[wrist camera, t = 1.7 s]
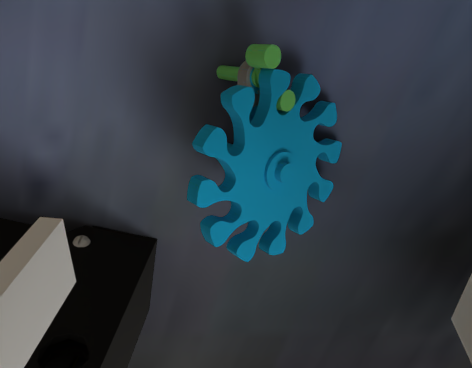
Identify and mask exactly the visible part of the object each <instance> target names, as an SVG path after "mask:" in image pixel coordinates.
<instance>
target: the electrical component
mask: <svg viewBox="0 0 472 368" xmlns="http://www.w3.org/2000/svg"><path fill="white" fill-rule="evenodd" d="M31 226H32V225H29V224H25V223H20V222H16V221H11V220H7V219H2V218H0V261H1V260H2V259H3V258H4V257H5V256H6V255H7V253H8V252H9V251H10V250H11V249H12V248H13V247H14V246H15V244H16V243H17V242H18V241H19V240H20V239H21V238H22V237H23V235H24V234H25V233H26V232H27V231H28V230H29V229H30V228H31ZM66 236H67V241H68V246H69V250H70V255H71V259H72V264H73V269H74V273H75V278H76V283H75V284H74V286H73V288H72V289H71V291H70V293H69V294H68V296H67V298H66V299H65V301H64V303H63V304H62V306H61V308H60V309H59V311H58V312H57V314H56V316H55V317H54V319H53V321H52V322H51V324H50V326H49V327H48V329H47V331H46V332H45V334H44V335H43V337H42V339H41V340H40V342H39V344H38V345H37V347H36V349H35V350H34V352H33V354H32V355H31V357H30V359H29V360H28V362H27V363H26V365H25V367H24V368H127V367H128V364H129V361H130V359H131V356H132V353H133V351H134V348H135V345H136V343H137V340H138V337H139V335H140V332H141V329H142V327H143V324H144V321H145V319H146V316H147V314H148V311H149V306H150V297H151V288H152V280H153V271H154V262H155V254H156V245H157V239H155V238H150V237H145V236H140V235H135V234H130V233H125V232H120V231H115V230H110V229H105V228H100V227H95V226H93V227H89V226H83V227H80V228H78V229H75V230H73V231H70V232H67V233H66Z"/></svg>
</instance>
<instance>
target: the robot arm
mask: <svg viewBox="0 0 472 368" xmlns="http://www.w3.org/2000/svg"><path fill="white" fill-rule="evenodd" d="M75 283H76V278H75V273H74V269H73V264H72V259H71V255H70V250H69V246H68V241H67V236H66V232H65V227H64V222H63V219H58V218H47V217H39V219H38V220H37V221H36V222H35V223H34V224H33V225H32V226H31V228H30V229H29V230H28V231H27V232H26V233H25V234H24V235H23V237H22V238H21V239H20V240H19V241H18V242H17V243H16V244H15V246H14V247H13V248H12V249H11V250H10V251H9V252H8V253H7V255H6V256H5V257H4V258H3V259H2V260H1V261H0V368H24V367H25V365H26V363H27V362H28V360H29V359H30V357H31V355H32V354H33V352H34V350H35V349H36V347H37V345H38V344H39V342H40V340H41V339H42V337H43V335H44V334H45V332H46V331H47V329H48V327H49V326H50V324H51V322H52V321H53V319H54V317H55V316H56V314H57V312H58V311H59V309H60V308H61V306H62V304H63V303H64V301H65V299H66V298H67V296H68V294H69V293H70V291H71V289H72V288H73V286H74V284H75ZM451 320H452V322H453V325H454V327H455V329H456V331H457V333H458V335H459V338H460V340H461V342H462V344H463V346H464V348H465V350H466V353H467V355H468V357H469V359H470V361H471V363H472V274H471V276H470V278H469V280H468V283H467V285H466V287H465V289H464V291H463V294H462V296H461V298H460V300H459V302H458V305H457V307H456V309H455V311H454V313H453V316H452V318H451Z"/></svg>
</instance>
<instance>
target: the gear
mask: <svg viewBox="0 0 472 368" xmlns="http://www.w3.org/2000/svg"><path fill="white" fill-rule="evenodd" d="M245 58H246V61H244V62H243V63H242V64H241V66H240V67H234V66H224V65H221V66H219V67H218V69H217V76H218V78H220V79H224V80H231V81H237V82H238V85H236V86H232V87H230V88H228V89H227V90H225V91H224V92H222V93H221V103H222V106H223V107H224V108H225V110H226V111H227V112H228V114H229V115H230V118H231V120H232V124H233V130H234V143H233V144H230V143H227V137H226V134H225V132H224V131H223V130H222V129H221V128H218V127H215V126H212V125H208V124H206V125H205V126H203V127H202V128H201V130H200V131H199V132H198V134H197V135H196V137H195V139H194V141H193V143H192V145H193V147H194V149H195V150H196V151H197V152H200V153H202V154H205V155H207V156H210V157H215V158H216V159H217V160H218V161H219V163H220V164H221V166H222V167H223V169H224V171H225V179H224V181H223V183H222V184H221V185H220V186H217V185H216V183H215V182H214V181H212V180H210V179H208V178H206V177H204V176H201V175H194V176H192V177H191V179H190V182H189V185H188V191H187V200H188V201H190V202H191V203H193V204H195V205H197V206H198V207H201V208H206V207H208V206H210V205H212V204H213V203H216V202H218V201H223V200H228V201H231V209H230V211H229V213H228V214H227V215H226V216H224V217H217V216H213V215H210V216H207V217H205V218H204V219H203V220H202V221H201V222H200V227H201V232H202V234H203V237H204V239H205V240H206V241H207V242H208V243H210V244H211V245H213V246H214V247H218V246H221V245H222V244H224V243H225V241H226V240H227V239H228V237H229V236H230V235H231V233H232V232H233V231H234V230H235V229H236V228H238V227H239V226H241V225H242V224H244V223H247V222H249V223H248V226H247V228H246V229H245V231H243V232H242V233H240V234H237V235H235V236H233V237H232V238H231V239H230V240H229V242H228V244H227V247H226V248H227V249H228V251H230V252H231V253H232V254H234V255H235V256H237V257H238V258H240V259H241V260H243V261H246V262H249V261H250V260H251V259H252V257H253V256H254V254H255V250H256V246H257V244H258V241H259V239H260V237H261V236H262V234H263V233H264V231H265V230H266V229H267V228H268V227H269V225H270V227H269V229H268V230H267V231H266V232H265V233H264V234H263V236H262V237H261V239H260V241H259V249H261V250H263V251H264V252H266V253H268V254H270V255H278V254H281V253H283V252H284V250H285V247H286V239H285V231H286V226H287V223H288V228H289V229H290V230H291V231H293V232H295V233H297V234H299V235H301V234H303V233H305V232H306V231H308V230H309V229H310V228H311V227H312V226H313V223H314V219H313V216H312V215H311V214H310V213H309V211H308V208H307V191H308V193H309V196H310V197H312V198H314V199H317V200H319V201H322V202H325V200H326V199H327V198H328V197H329V195H330V193H331V191H332V189H333V187H334V186H333V183H332V182H331V181H329V180H326V179H323V178H322V177H321V176H320V175H319V173H318V171H317V169H316V164H315V163H316V159H317V157H318V158H319V159H320V160H323V161H326V162H329V163H336V162H337V161H338V159H339V156H340V152H341V146H342V143H341V142H340V141H336V140H332V139H328V138H325V139H323V140H322V141H319V142H316V141H315V140H314V138H313V132H314V129H315V127H316V126H317V125H322V126H327V127H331V126H333V125H334V124H335V123H336V121H337V111H336V105H335V103H332V102H326V101H319V102H317V103H316V104H315V106H314V107H313V109H312V110H311V111H310V112H309V113H308V114H307V115H305V116H303V117H301V118H300V108H301V106H302V105H303V104H304V103H305V102H307V101H312V100H314V99H316V98H317V96H318V95H319V93H320V90H321V89H320V85H319V83H318V82H317V80H316V79H315V78H314V76H313V75H312V74H303V73H299V74H297V75H296V76H295V78H294V79H293V82H292V86H291V90H287V88H288V87H289V84H290V78H291V77H290V74H289V73H288V72H286V71H284V70H278V69H274V68H276V67H277V66H278V65H279V63H280V60H281V51H280V49H279V47H278V46H276V45H270V44H251V45H250V46H249V47H248V48H247V50H246V54H245Z"/></svg>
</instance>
